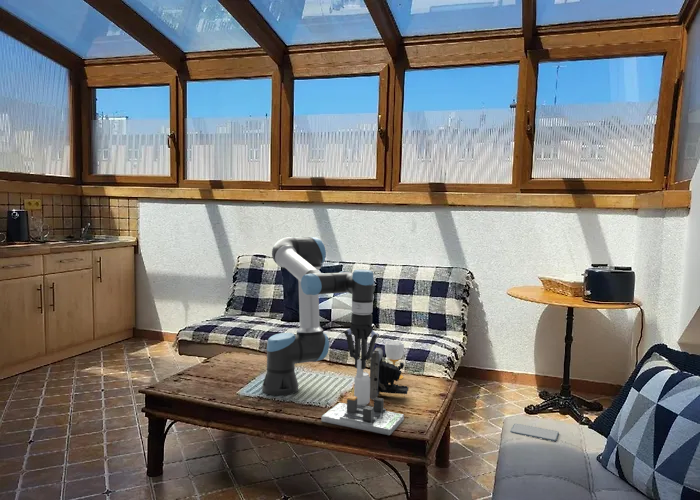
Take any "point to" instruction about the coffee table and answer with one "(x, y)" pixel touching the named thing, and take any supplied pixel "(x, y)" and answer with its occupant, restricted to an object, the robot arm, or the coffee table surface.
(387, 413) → the breaker panel
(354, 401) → the breaker
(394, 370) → the vintage camera
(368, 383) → the beverage can
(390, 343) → the cup
